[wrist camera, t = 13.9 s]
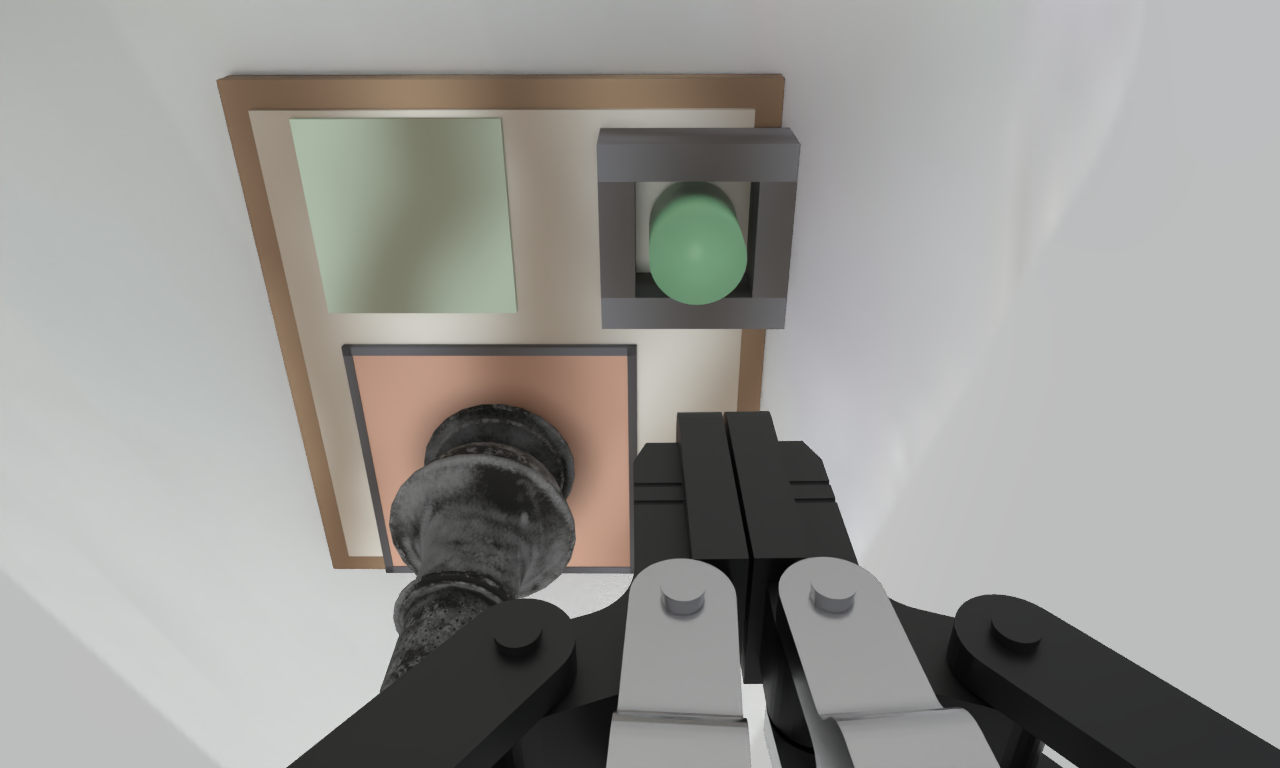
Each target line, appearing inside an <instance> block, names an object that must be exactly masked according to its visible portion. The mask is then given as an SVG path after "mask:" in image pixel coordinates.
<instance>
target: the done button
mask: <svg viewBox="0 0 1280 768" xmlns="http://www.w3.org/2000/svg"><path fill="white" fill-rule="evenodd" d="M649 265H650V270H651V274H652V277H653V279H654V281H655V283H656V284H657V285H658V287H659V288H660V289H661V290H662V291H663V292H664V293H665V294H666V295H667V296H669V297H670V298H672V299H674V300H676V301H678V302H681V303H685V304H690V305H703V304H709V303H712V302H715V301H718V300H720V299H722V298H723V297H725V296H727V295H728V294H729V293H730V292H732V291H733V290H734V289H735V288H736V286H737V285H738V284H739V282H740V281H741V279H742V277H743V275H744V272H745V269H746V265H747V250H746V246H745V242H744V239H743V235H742V232H741V229H740V225H739V222H738V219H737V215H736V212H735V209H734V206H733V204H732V202H731V200H730V199H729V197H728V196H727V195H726V194H725V193H724V192H723V191H722V190H721V189H719V188H718V187H716V186H714V185H712V184H710V183H707V182H681V183H678V184H676V185H674V186H671V187H670V188H668V189H667V190H666V191H665V192H663V193H662V194H661V195H660V196H659V198H658V199H657V200H656V202H655V204H654V206H653V208H652V210H651V213H650V218H649Z"/></svg>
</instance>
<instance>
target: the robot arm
mask: <svg viewBox="0 0 1280 768" xmlns="http://www.w3.org/2000/svg"><path fill="white" fill-rule="evenodd" d="M633 480H634V576H633V579H632V583H631V584H630V586H629V588H628V590H627V591H626V592H625V593H624V594H623V596H621V597H620V598H619V599H618V600H617V601H616V602H614V603H613V604H611V605H610V606H608V607H606V608H604V609H602V610H600V611H597V612H594V613H591V614H588V615H584V616H580V617H577V618H573V619H570V618H569V616H568V615H567V614H566V613H565V612H564V611H563V610H561V609H560V608H558V607H557V606H555V605H553V604H551V603H549V602H545V601H542V600H537V599H513V600H509V601H504V602H501V603H499V604H496V605H494V606H492V607H490V608H488V609H486V610H484V611H483V612H482V613H480V614H479V615H477V616H476V617H475V618H474V619H472V620H471V621H470V622H469V623H467V624H466V625H465V626H464V627H462V628H461V629H460V630H459V631H457V632H456V633H455V634H454V635H452V636H451V637H450V638H449V639H447V640H446V641H445V642H444V643H442V644H441V645H440V646H439V647H437V648H436V649H435V650H434V651H432V652H431V653H430V654H429V655H427V656H426V657H425V658H424V659H422V660H421V661H420V662H419V663H417V664H416V665H415V666H413V667H412V668H411V669H410V670H408V671H407V672H406V673H405V674H403V675H402V676H401V677H400V678H398V679H397V680H396V681H395V682H393V683H392V684H391V685H390V686H388V687H387V688H386V689H385V690H383V691H382V692H381V693H380V694H378V695H377V696H376V697H375V698H373V699H372V700H371V701H370V702H368V703H367V704H366V705H365V706H363V707H362V708H361V709H360V710H358V711H357V712H356V713H355V714H353V715H352V716H351V717H350V718H348V719H347V720H346V721H344V722H343V723H342V724H341V725H339V726H338V727H337V728H336V729H334V730H333V731H332V732H331V733H329V734H328V735H327V736H326V737H324V738H323V739H322V740H321V741H319V742H318V743H317V744H316V745H314V746H313V747H312V748H311V749H309V750H308V751H307V752H306V753H304V754H303V755H302V756H301V757H299V758H298V759H297V760H296V761H294V762H293V763H292V764H291V765H289V766H288V767H287V768H751V758H750V741H749V729H748V722H747V719H746V718H743V711H742V692H741V674H740V666H741V669H742V676H743V683H744V684H763V688H764V693H765V699H766V709H765V719H764V735H765V740H766V744H767V748H768V752H769V756H770V760H771V764H772V768H1062V767H1061V766H1060V765H1058V764H1057V763H1055V762H1054V761H1052V760H1051V759H1050V758H1048V757H1047V756H1046V755H1044V754H1043V753H1042V751H1043V748H1044V746H1045V744H1046V745H1047V746H1049V747H1050V748H1052V749H1053V750H1054V751H1056V752H1057V753H1059V754H1060V755H1062V756H1063V757H1065V758H1066V759H1067V760H1069V761H1070V762H1071V763H1073V764H1074V765H1076V766H1077V767H1078V768H1280V750H1279V749H1278V748H1276V747H1274V746H1273V745H1271V744H1269V743H1268V742H1266V741H1264V740H1263V739H1261V738H1259V737H1258V736H1256V735H1254V734H1252V733H1251V732H1249V731H1247V730H1246V729H1244V728H1242V727H1241V726H1239V725H1237V724H1236V723H1234V722H1232V721H1231V720H1229V719H1227V718H1226V717H1224V716H1222V715H1221V714H1219V713H1217V712H1215V711H1214V710H1212V709H1211V708H1209V707H1207V706H1206V705H1204V704H1202V703H1201V702H1199V701H1197V700H1195V699H1194V698H1192V697H1190V696H1189V695H1187V694H1185V693H1184V692H1182V691H1180V690H1179V689H1177V688H1175V687H1174V686H1172V685H1170V684H1169V683H1167V682H1165V681H1164V680H1162V679H1160V678H1158V677H1157V676H1155V675H1154V674H1152V673H1150V672H1148V671H1147V670H1145V669H1144V668H1142V667H1140V666H1139V665H1137V664H1135V663H1133V662H1132V661H1130V660H1128V659H1127V658H1125V657H1123V656H1122V655H1120V654H1118V653H1117V652H1115V651H1113V650H1112V649H1110V648H1108V647H1106V646H1105V645H1103V644H1101V643H1100V642H1098V641H1097V640H1095V639H1093V638H1091V637H1090V636H1088V635H1087V634H1085V633H1083V632H1082V631H1080V630H1078V629H1076V628H1075V627H1073V626H1071V625H1070V624H1068V623H1066V622H1065V621H1063V620H1061V619H1060V618H1058V617H1056V616H1054V615H1053V614H1051V613H1050V612H1048V611H1046V610H1045V609H1043V608H1041V607H1039V606H1037V605H1035V604H1033V603H1030V602H1028V601H1026V600H1023V599H1019V598H1016V597H1011V596H1006V595H995V594H993V595H982V596H978V597H975V598H972V599H970V600H968V601H966V602H965V603H964V604H963V605H962V606H961V607H960V608H959V609H958V611H957V613H956V616H955V618H954V617H949V616H945V615H940V614H937V613H932V612H928V611H924V610H919V609H916V608H912V607H908V606H906V605H903V604H901V603H898V602H896V601H894V600H892V599H890V598H888V596H887V594H886V592H885V590H884V588H883V586H882V585H881V583H880V582H879V581H878V580H877V578H876V577H875V576H873V575H872V574H871V573H870V572H869V571H867V570H865V569H864V568H862V567H861V566H859V565H858V562H857V559H856V556H855V553H854V550H853V548H852V545H851V542H850V539H849V536H848V533H847V530H846V528H845V525H844V522H843V519H842V516H841V513H840V510H839V508H838V505H837V503H835V496H834V493H833V490H832V488H831V485H829V479H828V476H827V473H826V471H825V468H824V465H823V462H822V459H821V458H820V457H818V456H817V455H816V454H815V453H814V452H813V451H812V450H811V449H810V448H809V447H808V446H807V445H806V444H805V443H804V442H803V441H778V439H777V436H776V432H775V428H774V425H773V421H772V418H771V415H770V412H769V411H740V412H724V414H723V416H722V412H677V420H676V443H646V444H645V445H644V447H643V448H642V450H641V451H640V453H639V454H638V456H637V457H636V458H635V460H634V461H633Z"/></svg>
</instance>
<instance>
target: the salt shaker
mask: <svg viewBox="0 0 1280 768" xmlns="http://www.w3.org/2000/svg"><path fill="white" fill-rule="evenodd" d="M574 478H575V469H574V458H573V456H572V453H571V451H570V448H569V446H568V443H567V442H566V441H565V439H564V438H563V437H562V435H561V434H560V433H559V432H558V430H557V429H556V428H555V427H554V426H552V425H551V424H550V423H548V422H547V421H546V420H544V419H543V418H542V417H541V416H538V415H536V414H534V413H532V412H530V411H527V410H525V409H523V408H519V407H514V406H509V405H505V404H481V405H477V406H473V407H469V408H465V409H462V410H460V411H459V412H457V413H455V414H453V415H451V416H450V417H448V418H446V419H445V420H444V421H443V422H442V423H441V424H440V425H439V426H438V427H437V428H436V429H435V430H434V432H433V434H432V436H431V438H430V440H429V442H428V444H427V446H426V452H425V459H424V467H422V468H420V469H419V470H417V471H415V472H414V473H413V474H412V475H411V476H410V477H409V478H408V479H407V480H406V481H405V482H404V483H403V484H402V485H401V486H400V488H399V490H398V492H397V494H396V496H395V498H394V500H393V502H392V505H391V510H390V519H389V528H390V532H391V537H392V541H393V545H394V546H395V548H396V550H397V552H398V553H399V555H400V557H401V559H402V560H403V562H404V563H405V564H406V565H407V566H408V567H409V568H410V569H411V570H412V571H413V572H414V573H415V574H416V575H417V577H416V580H414V581H412V582H411V583H409V584H408V585H407V586H406V587H405V588H404V589H403V590H402V591H401V593H400V595H399V597H398V599H397V601H396V603H395V607H394V615H393V618H394V623H395V627H396V630H397V632H398V634H399V638H398V640H397V643H396V646H395V649H394V652H393V655H392V658H391V661H390V663H389V666H388V669H387V672H386V675H385V678H384V681H383V684H382V686H381V689H380V693H381V692H382V691H383V690H385V689H386V688H387V687H388V686H390V685H391V684H392V683H393V682H395V681H396V680H397V679H398V678H400V677H401V676H402V675H403V674H405V673H406V672H407V671H408V670H410V669H411V668H412V667H413V666H415V665H416V664H417V663H419V662H420V661H421V660H422V659H424V658H425V657H426V656H427V655H429V654H430V653H431V652H432V651H434V650H435V649H436V648H437V647H439V646H440V645H441V644H442V643H444V642H445V641H446V640H447V639H449V638H450V637H451V636H452V635H454V634H455V633H456V632H457V631H459V630H460V629H461V628H462V627H464V626H465V625H466V624H467V623H469V622H470V621H471V620H472V619H474V618H475V617H476V616H477V615H479V614H480V613H482V612H483V611H484V610H486V609H488V608H490V607H492V606H494V605H496V604H499V603H501V602H504V601H509V600H513V599H518V598H523V597H527V596H529V595H531V594H533V593H535V592H537V591H539V590H542V589H544V588H546V587H547V586H548V585H549V584H550V583H552V582H553V581H554V580H555V579H556V578H558V577H559V576H560V575H561V574H562V572H563V571H564V569H565V567H566V566H567V564H568V563H569V561H570V560H571V557H572V553H573V549H574V546H575V542H576V533H575V521H574V518H573V515H572V513H571V510H570V508H569V506H568V503H567V501H566V499H567V498H568V496H569V495H570V493H571V490H572V486H573V482H574Z"/></svg>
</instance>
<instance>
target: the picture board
mask: <svg viewBox="0 0 1280 768" xmlns="http://www.w3.org/2000/svg"><path fill="white" fill-rule="evenodd" d="M216 81H217V85H218V89H219V94H220V98H221V102H222V106H223V110H224V114H225V118H226V123H227V127H228V131H229V135H230V139H231V143H232V148H233V152H234V156H235V160H236V164H237V168H238V173H239V177H240V181H241V185H242V189H243V193H244V198H245V202H246V206H247V210H248V214H249V218H250V223H251V227H252V231H253V235H254V239H255V243H256V248H257V252H258V256H259V260H260V264H261V268H262V272H263V277H264V281H265V285H266V289H267V293H268V297H269V302H270V306H271V310H272V314H273V318H274V322H275V327H276V331H277V335H278V339H279V343H280V347H281V352H282V356H283V360H284V364H285V368H286V372H287V377H288V381H289V385H290V389H291V393H292V397H293V402H294V406H295V410H296V414H297V418H298V422H299V427H300V431H301V435H302V439H303V443H304V447H305V451H306V456H307V460H308V464H309V468H310V472H311V476H312V481H313V485H314V489H315V493H316V497H317V501H318V506H319V510H320V514H321V518H322V522H323V526H324V531H325V535H326V539H327V543H328V547H329V551H330V556H331V560H332V564H333V568H334V569H386V573H414V572H413V571H412V570H411V569H410V568H409V567H408V566H407V565H406V564H405V563H404V562H403V560H402V559H401V557H400V555H399V553H398V552H397V550H396V548H395V546H394V545H393V541H392V537H391V532H390V528H389V519H390V510H391V505H392V502H393V500H394V498H395V496H396V494H397V492H398V490H399V488H400V486H401V485H402V484H403V483H404V482H405V481H406V480H407V479H408V478H409V477H410V476H411V475H412V474H413V473H414V472H415V471H417V470H419V469H420V468H422V467H424V459H425V452H426V446H427V444H428V442H429V440H430V438H431V436H432V434H433V432H434V430H435V429H436V428H437V427H438V426H439V425H440V424H441V423H442V422H443V421H444V420H445V419H446V418H448V417H450V416H451V415H453V414H455V413H457V412H459V411H460V410H462V409H465V408H469V407H473V406H477V405H481V404H505V405H509V406H514V407H519V408H523V409H525V410H527V411H530V412H532V413H534V414H536V415H538V416H541V417H542V418H543V419H544V420H546V421H547V422H548V423H550V424H551V425H552V426H554V427H555V428H556V429H557V430H558V432H559V433H560V434H561V435H562V437H563V438H564V439H565V441H566V442H567V443H568V446H569V448H570V451H571V453H572V456H573V458H574V469H575V478H574V482H573V486H572V490H571V493H570V495H569V496H568V498H567V499H566V501H567V503H568V506H569V508H570V510H571V513H572V515H573V518H574V521H575V533H576V542H575V546H574V549H573V553H572V557H571V560H570V561H569V563H568V564H567V566H566V567H565V569H564V571H563V572H562V573H634V480H633V461H634V460H635V458H636V457H637V456H638V454H639V453H640V451H641V450H642V448H643V447H644V445H645V444H646V443H676V420H677V412H722V416H723V414H724V412H740V411H759V410H760V397H761V384H762V371H763V358H764V345H765V332H766V329H784V324H785V313H786V302H787V291H788V280H789V268H790V257H791V246H792V235H793V223H794V212H795V201H796V190H797V178H798V167H799V156H800V145H801V144H800V143H799V141H798V140H797V138H796V137H795V135H794V134H793V132H792V131H791V129H790V128H781V124H782V111H783V98H784V85H785V78H784V77H783V76H782V75H781V74H599V75H242V76H226V77H224V78H221V79H218V80H216ZM681 182H707V183H710V184H712V185H714V186H716V187H718V188H719V189H721V190H722V191H723V192H724V193H725V194H726V195H727V196H728V197H729V199H730V200H731V202H732V204H733V206H734V209H735V212H736V215H737V219H738V222H739V225H740V229H741V232H742V235H743V239H744V242H745V246H746V250H747V265H746V269H745V272H744V275H743V277H742V279H741V281H740V282H739V284H738V285H737V286H736V288H735V289H734V290H733V291H732V292H730V293H729V294H728V295H727V296H725V297H723V298H722V299H720V300H718V301H715V302H712V303H709V304H703V305H690V304H685V303H681V302H678V301H676V300H674V299H672V298H670V297H669V296H667V295H666V294H665V293H664V292H663V291H662V290H661V289H660V288H659V287H658V285H657V284H656V283H655V281H654V279H653V277H652V274H651V270H650V265H649V218H650V213H651V210H652V208H653V206H654V204H655V202H656V200H657V199H658V198H659V196H660V195H661V194H662V193H663V192H665V191H666V190H667V189H668V188H670V187H671V186H674V185H676V184H678V183H681Z"/></svg>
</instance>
